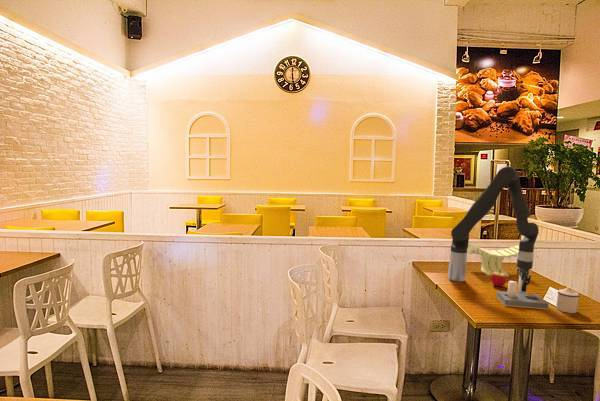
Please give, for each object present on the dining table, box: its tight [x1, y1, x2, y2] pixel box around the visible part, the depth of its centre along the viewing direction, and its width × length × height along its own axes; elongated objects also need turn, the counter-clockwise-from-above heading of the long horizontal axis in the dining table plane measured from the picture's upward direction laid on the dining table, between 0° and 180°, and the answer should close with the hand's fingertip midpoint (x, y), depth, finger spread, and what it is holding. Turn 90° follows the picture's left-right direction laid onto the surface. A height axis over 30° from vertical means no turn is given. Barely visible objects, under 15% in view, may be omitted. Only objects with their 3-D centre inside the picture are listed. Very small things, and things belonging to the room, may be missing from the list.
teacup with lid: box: [555, 286, 580, 314], centre depth 207 cm, size 12×9×12 cm
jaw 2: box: [516, 276, 528, 294], centre depth 227 cm, size 5×5×10 cm
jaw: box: [506, 280, 518, 298], centre depth 214 cm, size 5×5×10 cm
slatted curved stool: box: [467, 242, 519, 278], centre depth 270 cm, size 30×16×18 cm, turn 85°
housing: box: [495, 290, 549, 310], centre depth 214 cm, size 20×14×3 cm
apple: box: [490, 269, 508, 287], centre depth 242 cm, size 8×8×10 cm
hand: (522, 289), depth 227 cm, fingers closed on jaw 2, 4 cm apart
